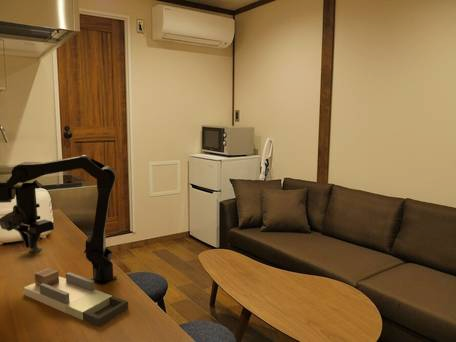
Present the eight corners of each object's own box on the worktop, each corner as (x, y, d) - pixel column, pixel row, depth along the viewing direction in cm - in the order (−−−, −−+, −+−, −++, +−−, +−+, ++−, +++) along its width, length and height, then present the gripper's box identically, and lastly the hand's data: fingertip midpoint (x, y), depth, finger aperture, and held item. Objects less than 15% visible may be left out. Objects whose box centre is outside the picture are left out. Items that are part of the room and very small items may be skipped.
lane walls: (94, 289, 122) (94, 281, 121) (66, 304, 113) (65, 294, 112) (69, 280, 127) (68, 272, 127) (40, 293, 119) (39, 284, 118)
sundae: (39, 246, 164) (37, 211, 161) (47, 250, 159) (45, 214, 157) (23, 250, 159) (20, 215, 156) (31, 254, 154) (28, 218, 152)
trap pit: (128, 309, 115) (128, 301, 115) (99, 327, 106) (98, 319, 106) (112, 303, 119) (112, 295, 118) (83, 320, 109) (82, 312, 109)
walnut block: (59, 282, 126) (58, 271, 125) (45, 288, 122) (44, 276, 121) (49, 279, 128) (48, 267, 128) (35, 284, 124) (34, 273, 123)
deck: (112, 303, 119) (112, 295, 118) (83, 320, 109) (82, 312, 109) (54, 281, 132) (54, 274, 132) (24, 294, 123) (23, 287, 122)
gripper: (-16, 202, 122) (-12, 249, 125) (19, 212, 113) (23, 262, 116) (18, 195, 132) (21, 239, 134) (53, 203, 122) (56, 250, 125)
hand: (29, 247), depth 127 cm, fingers closed
